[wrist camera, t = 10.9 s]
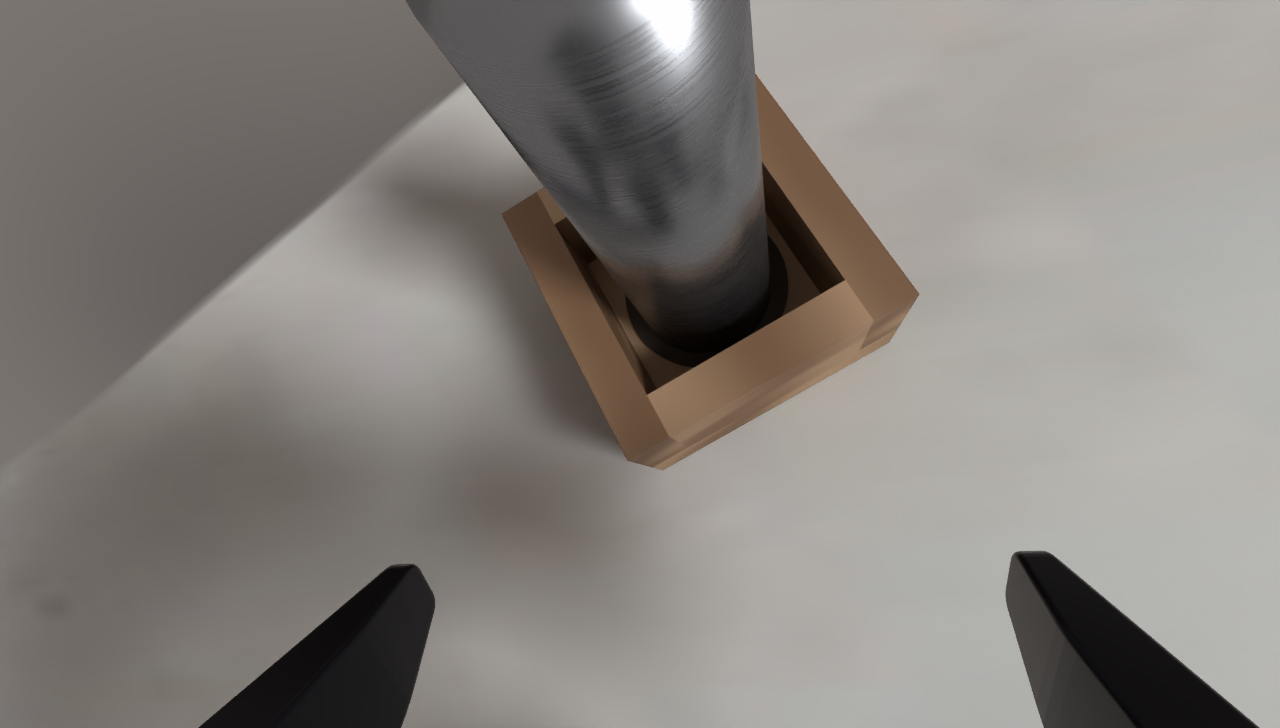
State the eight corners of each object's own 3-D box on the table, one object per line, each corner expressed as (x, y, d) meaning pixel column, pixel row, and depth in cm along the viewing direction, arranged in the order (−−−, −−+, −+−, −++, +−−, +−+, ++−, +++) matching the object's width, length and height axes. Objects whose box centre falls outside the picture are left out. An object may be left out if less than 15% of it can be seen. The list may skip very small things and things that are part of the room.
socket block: (662, 469, 19) (627, 460, 15) (557, 270, 22) (501, 214, 17) (889, 342, 19) (919, 294, 14) (754, 150, 21) (745, 60, 17)
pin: (737, 373, 18) (635, 104, 6) (619, 324, 19) (338, 17, 7) (792, 254, 18) (801, -222, 6) (673, 212, 19) (494, -251, 8)
